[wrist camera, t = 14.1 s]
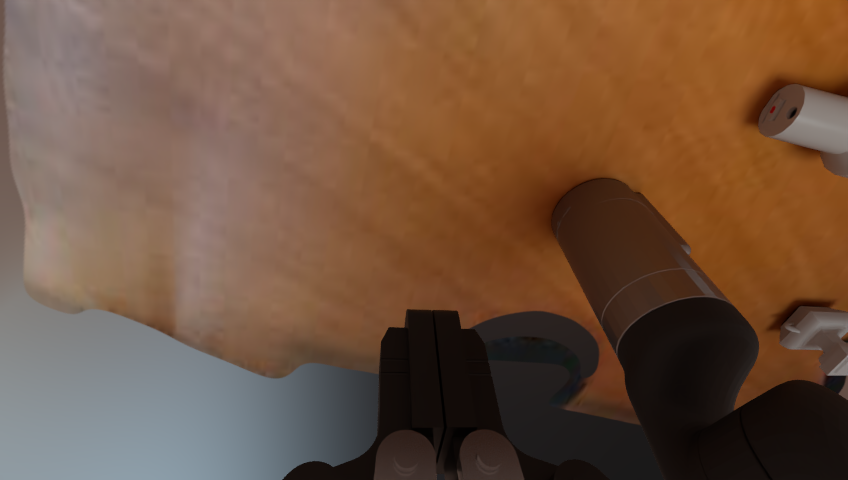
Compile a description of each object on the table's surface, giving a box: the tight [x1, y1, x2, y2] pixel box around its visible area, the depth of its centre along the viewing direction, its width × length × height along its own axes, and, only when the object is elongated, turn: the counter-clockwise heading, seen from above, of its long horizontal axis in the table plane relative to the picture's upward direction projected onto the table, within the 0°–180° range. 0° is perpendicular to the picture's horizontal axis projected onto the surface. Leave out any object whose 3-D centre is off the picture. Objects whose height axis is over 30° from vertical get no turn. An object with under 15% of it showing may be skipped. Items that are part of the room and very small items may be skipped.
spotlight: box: [758, 84, 848, 178], centre depth 38 cm, size 8×11×8 cm
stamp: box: [779, 306, 848, 375], centre depth 56 cm, size 9×7×8 cm
